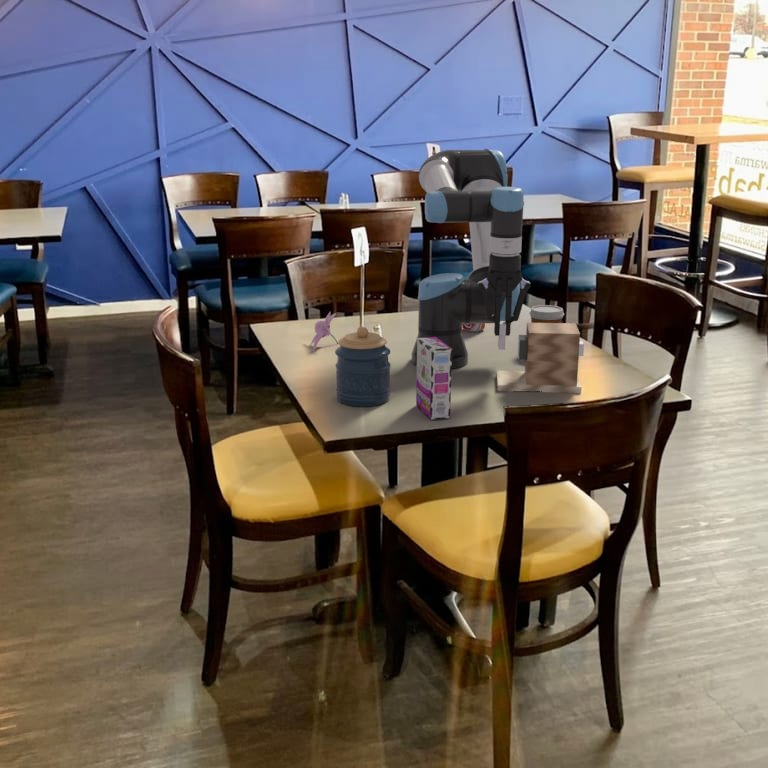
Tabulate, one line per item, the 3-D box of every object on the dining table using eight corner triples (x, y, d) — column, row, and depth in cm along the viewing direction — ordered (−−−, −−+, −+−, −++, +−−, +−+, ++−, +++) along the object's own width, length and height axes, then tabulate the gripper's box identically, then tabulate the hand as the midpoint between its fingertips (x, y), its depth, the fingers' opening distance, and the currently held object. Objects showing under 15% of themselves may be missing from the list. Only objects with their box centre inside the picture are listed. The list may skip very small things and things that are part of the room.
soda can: (486, 333, 275) (487, 293, 272) (462, 333, 275) (463, 293, 272) (483, 327, 282) (485, 288, 278) (461, 327, 282) (461, 288, 278)
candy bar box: (452, 419, 205) (453, 348, 200) (430, 421, 204) (431, 350, 199) (435, 403, 215) (436, 335, 210) (415, 405, 214) (415, 337, 209)
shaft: (518, 359, 224) (519, 340, 222) (518, 354, 229) (518, 334, 227) (583, 361, 223) (584, 341, 221) (581, 355, 227) (582, 335, 226)
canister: (401, 401, 217) (401, 328, 211) (354, 411, 210) (352, 337, 205) (371, 386, 227) (371, 317, 222) (326, 396, 221) (324, 325, 215)
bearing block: (497, 391, 223) (499, 333, 219) (496, 376, 235) (498, 321, 230) (581, 393, 222) (584, 335, 217) (575, 378, 233) (579, 322, 228)
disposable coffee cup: (552, 357, 251) (554, 314, 247) (521, 351, 256) (523, 309, 253) (568, 349, 258) (570, 307, 254) (537, 344, 263) (539, 303, 260)
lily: (319, 341, 272) (303, 315, 267) (354, 328, 268) (339, 302, 263) (313, 364, 262) (296, 338, 257) (349, 351, 258) (333, 324, 254)
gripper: (478, 256, 216) (475, 352, 224) (534, 256, 215) (529, 352, 223) (477, 250, 223) (474, 343, 231) (531, 250, 222) (526, 343, 230)
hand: (501, 347), depth 227 cm, fingers closed
